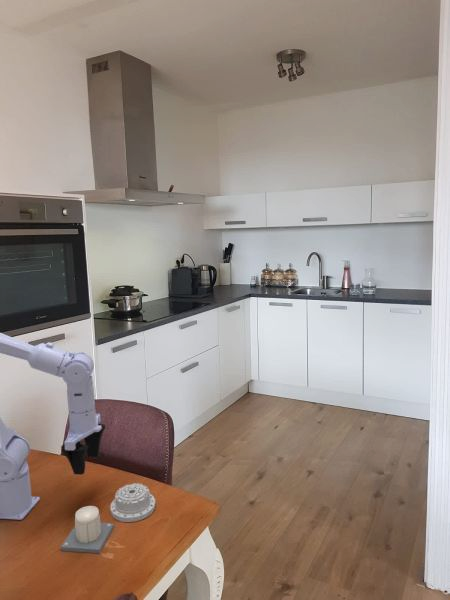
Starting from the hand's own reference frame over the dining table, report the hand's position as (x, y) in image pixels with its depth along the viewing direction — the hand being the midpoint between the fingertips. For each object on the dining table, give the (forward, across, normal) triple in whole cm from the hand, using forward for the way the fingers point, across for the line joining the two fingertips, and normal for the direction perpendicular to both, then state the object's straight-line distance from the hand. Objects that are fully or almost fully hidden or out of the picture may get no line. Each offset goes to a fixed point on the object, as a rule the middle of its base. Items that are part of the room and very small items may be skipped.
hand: (86, 464), depth 106 cm
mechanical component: (+10, -1, -11) cm, 15 cm away
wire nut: (+9, -12, -5) cm, 16 cm away
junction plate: (+9, -12, -5) cm, 16 cm away
